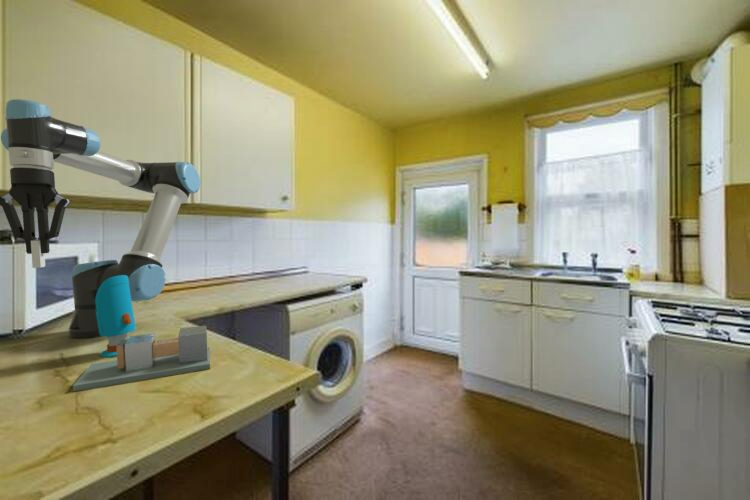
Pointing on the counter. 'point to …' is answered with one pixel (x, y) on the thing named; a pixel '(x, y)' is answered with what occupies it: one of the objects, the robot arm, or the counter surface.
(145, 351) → the sleeve
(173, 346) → the bolt
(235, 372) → the counter surface
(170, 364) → the board
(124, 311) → the security camera
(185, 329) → the socket
